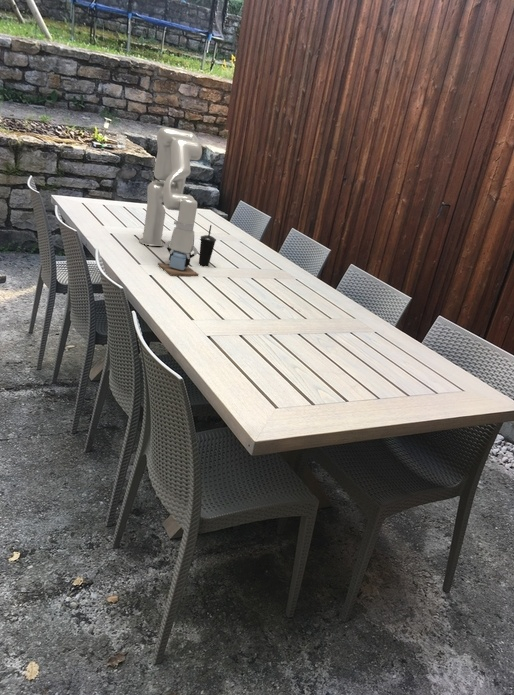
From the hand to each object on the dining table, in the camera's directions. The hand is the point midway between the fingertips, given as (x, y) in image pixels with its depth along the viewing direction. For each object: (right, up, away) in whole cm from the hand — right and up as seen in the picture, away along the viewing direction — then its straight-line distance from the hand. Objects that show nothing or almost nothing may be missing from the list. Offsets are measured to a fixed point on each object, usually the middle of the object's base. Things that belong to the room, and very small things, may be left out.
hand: (178, 264), depth 268 cm
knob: (0, -1, 0) cm, 1 cm away
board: (-1, -3, +1) cm, 3 cm away
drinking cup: (+10, +2, +19) cm, 22 cm away
